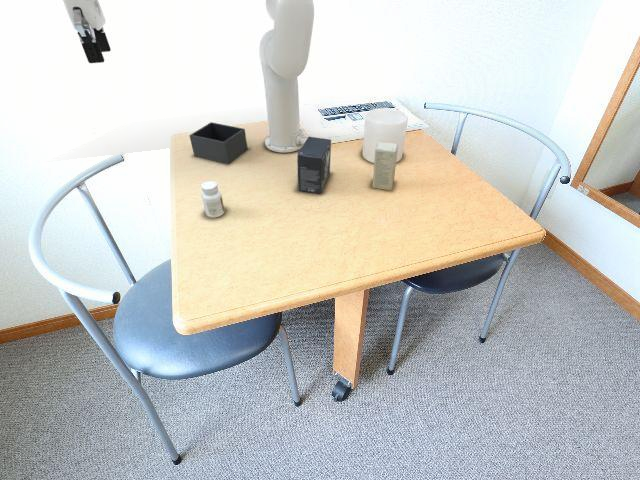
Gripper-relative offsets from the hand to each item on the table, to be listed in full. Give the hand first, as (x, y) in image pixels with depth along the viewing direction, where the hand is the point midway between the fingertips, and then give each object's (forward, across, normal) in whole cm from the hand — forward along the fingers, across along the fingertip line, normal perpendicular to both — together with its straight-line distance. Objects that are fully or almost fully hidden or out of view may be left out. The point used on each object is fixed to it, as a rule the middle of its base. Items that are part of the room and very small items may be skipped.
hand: (100, 56), depth 85 cm
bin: (+29, +4, -23) cm, 37 cm away
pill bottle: (+30, -27, -19) cm, 44 cm away
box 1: (+30, -21, -45) cm, 58 cm away
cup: (+30, -12, -69) cm, 76 cm away
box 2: (+30, -27, -62) cm, 74 cm away
